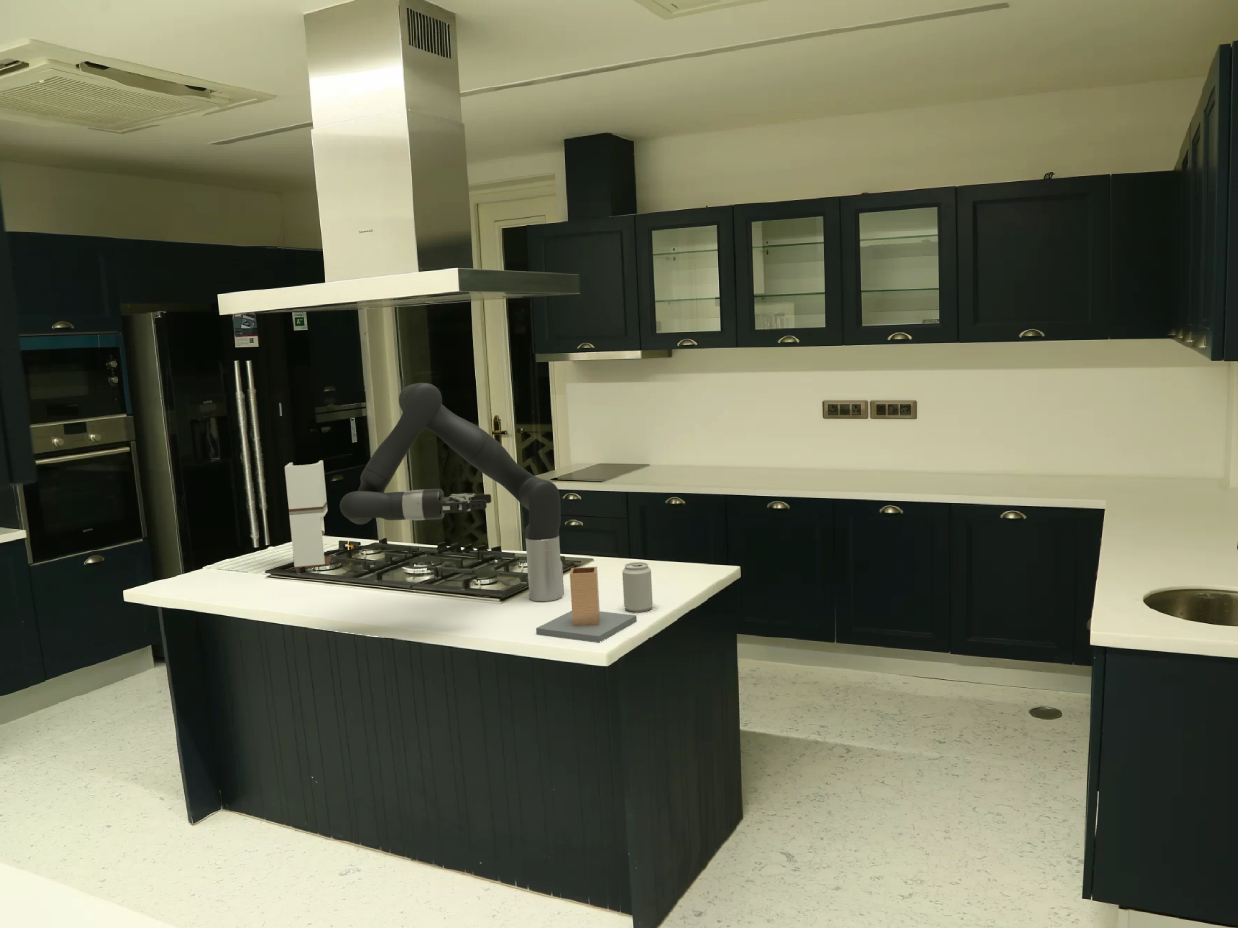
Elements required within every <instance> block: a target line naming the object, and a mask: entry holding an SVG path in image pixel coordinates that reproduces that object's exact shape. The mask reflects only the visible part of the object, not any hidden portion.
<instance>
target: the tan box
mask: <svg viewBox="0 0 1238 928" xmlns="http://www.w3.org/2000/svg"><path fill="white" fill-rule="evenodd" d="M598 574H599V573H598V566H587V567H585V566H583V567H571V568H570V572H569V583H570V584H569V585H570V586H569V587H570V598H571V600H570V601H571V611H572V619H573V626H589V625H599V622H600V611H601V609H600V592H599V591H600V590H599V576H598Z"/></svg>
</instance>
